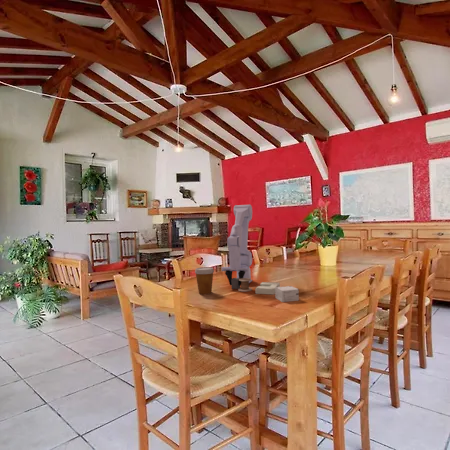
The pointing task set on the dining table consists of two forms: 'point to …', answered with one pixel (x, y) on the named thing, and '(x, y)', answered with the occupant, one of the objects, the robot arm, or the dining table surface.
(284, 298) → the small box
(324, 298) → the dining table surface
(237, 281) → the block
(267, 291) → the notch board
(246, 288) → the bobbin post
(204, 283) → the disposable coffee cup
